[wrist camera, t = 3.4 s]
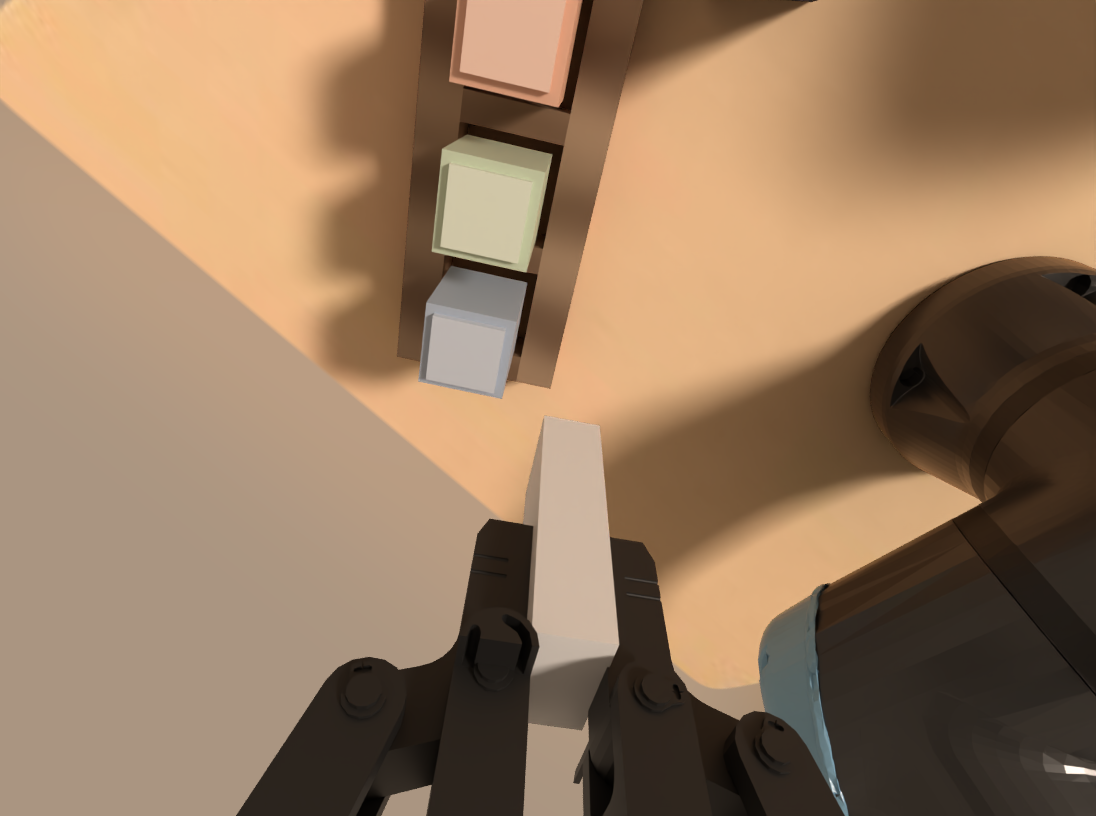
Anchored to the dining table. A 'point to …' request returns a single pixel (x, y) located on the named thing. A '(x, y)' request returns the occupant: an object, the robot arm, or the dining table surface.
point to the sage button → (489, 201)
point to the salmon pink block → (515, 47)
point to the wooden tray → (577, 130)
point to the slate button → (471, 331)
